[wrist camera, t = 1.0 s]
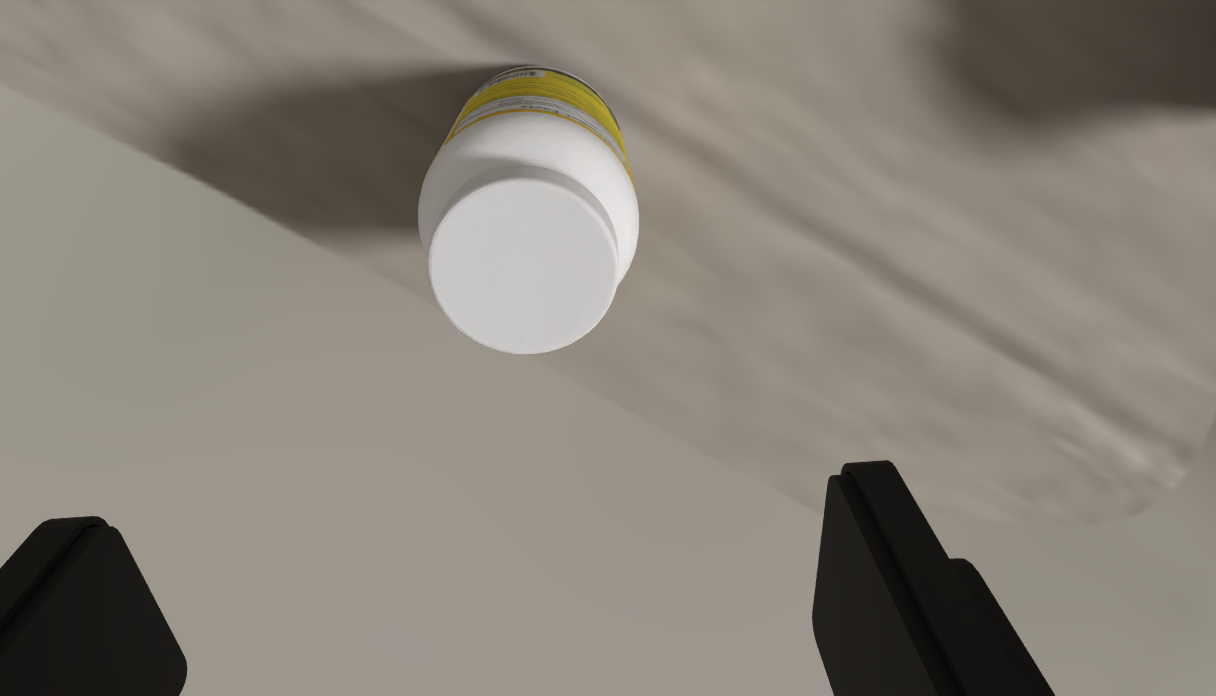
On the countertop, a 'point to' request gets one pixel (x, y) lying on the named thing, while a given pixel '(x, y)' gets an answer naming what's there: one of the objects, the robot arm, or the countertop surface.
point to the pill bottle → (529, 212)
